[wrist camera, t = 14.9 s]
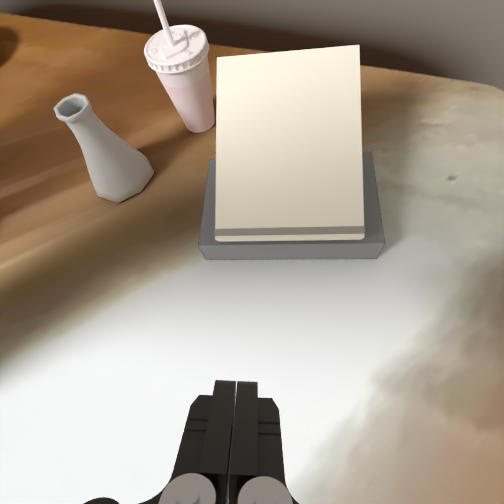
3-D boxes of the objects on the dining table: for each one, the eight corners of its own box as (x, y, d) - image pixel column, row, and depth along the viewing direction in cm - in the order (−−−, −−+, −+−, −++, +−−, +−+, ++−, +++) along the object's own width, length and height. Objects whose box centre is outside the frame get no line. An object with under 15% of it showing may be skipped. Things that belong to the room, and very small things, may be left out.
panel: (214, 239, 27) (216, 57, 28) (218, 241, 29) (220, 68, 30) (365, 237, 26) (360, 44, 27) (361, 239, 27) (356, 57, 28)
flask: (117, 214, 36) (58, 148, 27) (82, 182, 38) (18, 112, 30) (166, 172, 38) (125, 98, 29) (129, 144, 40) (82, 68, 31)
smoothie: (167, 137, 40) (109, 12, 28) (186, 101, 42) (140, -28, 30) (216, 144, 38) (177, 15, 26) (232, 106, 41) (204, -28, 29)
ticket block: (206, 259, 32) (198, 245, 29) (216, 178, 36) (210, 159, 34) (377, 258, 30) (384, 243, 27) (365, 172, 34) (371, 151, 31)
